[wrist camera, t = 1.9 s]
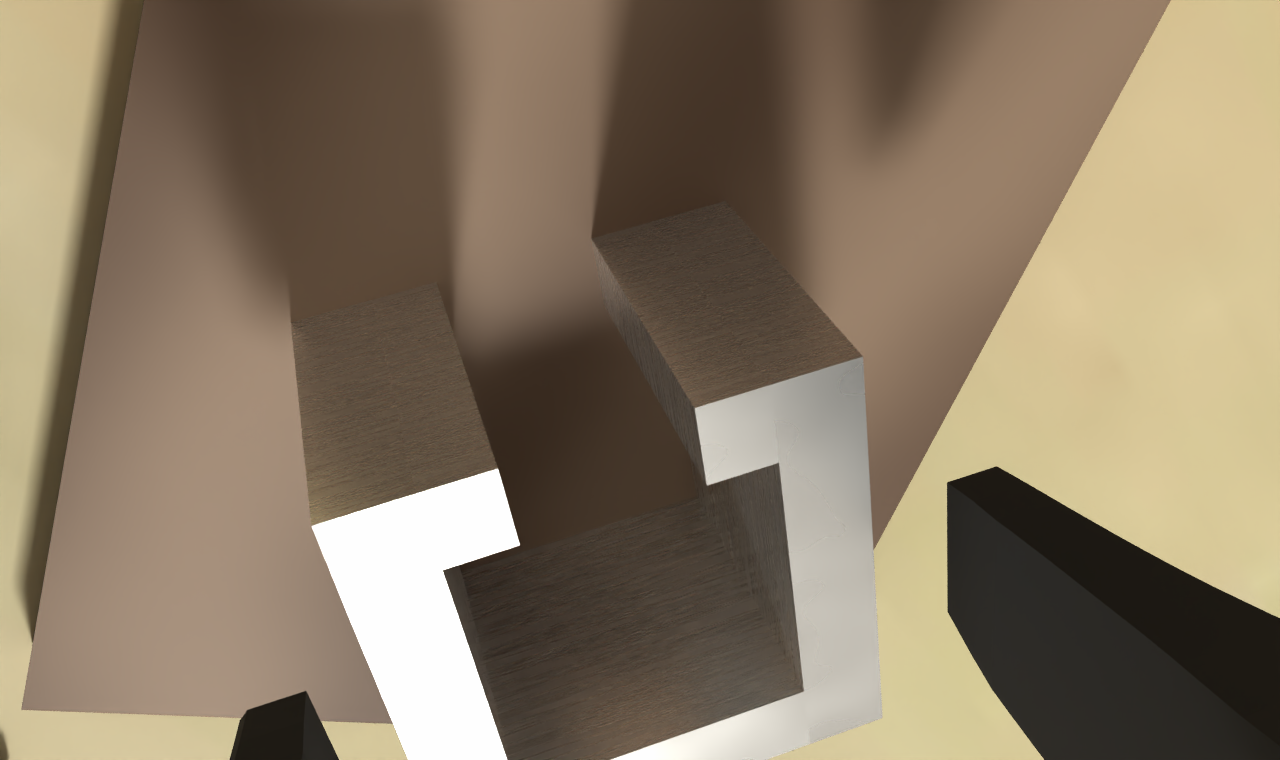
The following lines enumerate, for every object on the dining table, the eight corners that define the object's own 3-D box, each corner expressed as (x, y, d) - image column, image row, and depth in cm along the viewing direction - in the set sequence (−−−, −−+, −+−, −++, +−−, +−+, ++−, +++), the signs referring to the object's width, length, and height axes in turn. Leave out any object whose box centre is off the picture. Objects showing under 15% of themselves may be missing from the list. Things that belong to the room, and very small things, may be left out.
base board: (32, 647, 17) (22, 709, 16) (420, -1593, 8) (447, -1751, 7) (747, 688, 22) (772, 738, 21) (1454, -681, 13) (1552, -706, 12)
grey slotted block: (411, 641, 17) (455, 871, 14) (290, 322, 14) (311, 525, 11) (764, 525, 18) (882, 718, 15) (725, 201, 15) (863, 356, 12)
